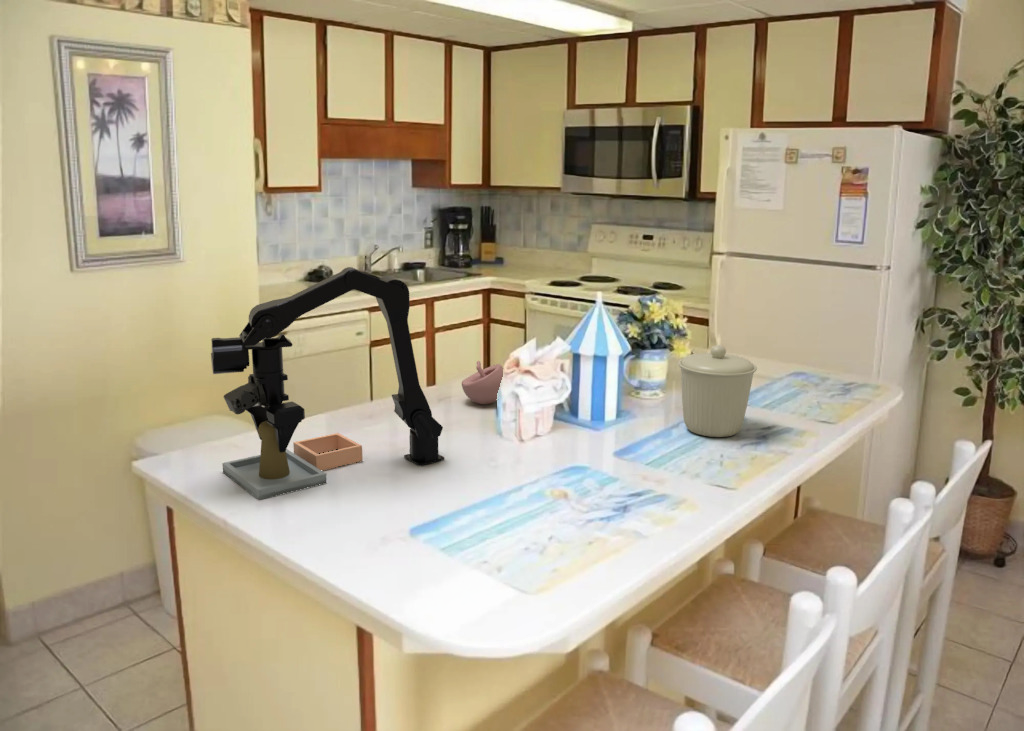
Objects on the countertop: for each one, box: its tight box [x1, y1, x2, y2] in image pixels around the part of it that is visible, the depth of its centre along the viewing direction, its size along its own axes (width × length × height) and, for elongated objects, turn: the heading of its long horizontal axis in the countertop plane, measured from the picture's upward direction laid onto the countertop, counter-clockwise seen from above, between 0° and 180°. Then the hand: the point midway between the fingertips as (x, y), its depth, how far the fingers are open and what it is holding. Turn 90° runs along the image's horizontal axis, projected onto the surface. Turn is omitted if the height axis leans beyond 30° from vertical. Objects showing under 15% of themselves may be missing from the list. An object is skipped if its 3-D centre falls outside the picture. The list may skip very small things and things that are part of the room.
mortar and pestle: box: [461, 360, 504, 405], centre depth 223 cm, size 12×12×11 cm
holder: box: [293, 432, 363, 471], centre depth 181 cm, size 11×11×4 cm
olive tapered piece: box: [257, 420, 290, 479], centre depth 169 cm, size 6×6×11 cm
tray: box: [221, 449, 328, 501], centre depth 171 cm, size 18×14×2 cm
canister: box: [677, 344, 758, 438], centre depth 202 cm, size 18×18×21 cm
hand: (272, 445), depth 169 cm, fingers open, 9 cm apart
